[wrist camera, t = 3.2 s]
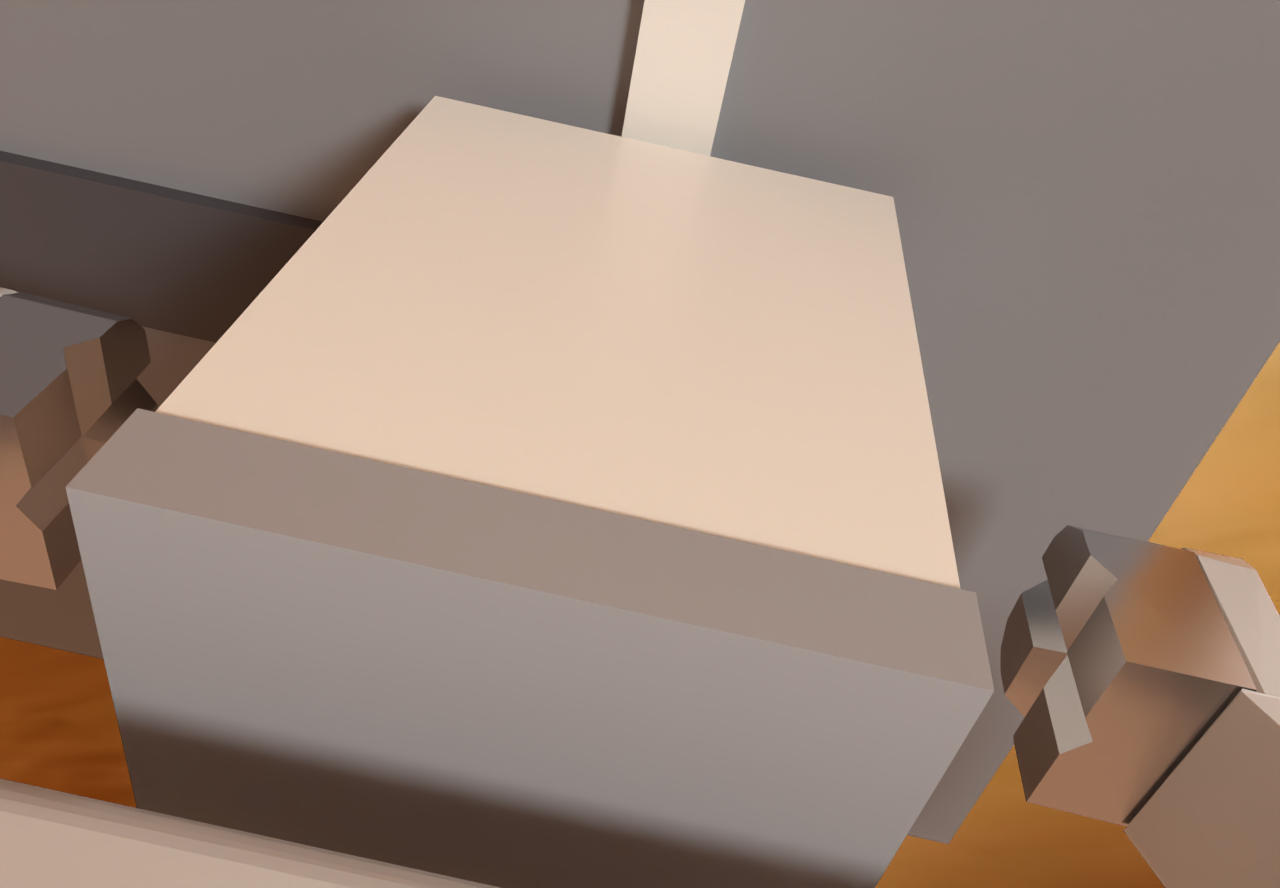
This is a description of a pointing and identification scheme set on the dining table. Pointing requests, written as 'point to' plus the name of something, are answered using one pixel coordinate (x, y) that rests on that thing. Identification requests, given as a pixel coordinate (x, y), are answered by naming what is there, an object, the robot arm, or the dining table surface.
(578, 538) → the fader knob
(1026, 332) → the console board
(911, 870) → the dining table surface
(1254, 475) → the dining table surface
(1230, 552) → the dining table surface
